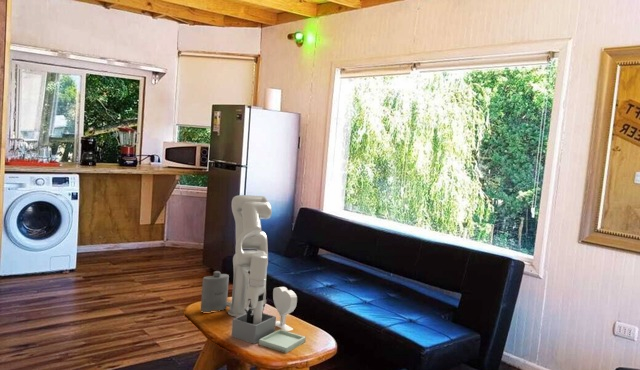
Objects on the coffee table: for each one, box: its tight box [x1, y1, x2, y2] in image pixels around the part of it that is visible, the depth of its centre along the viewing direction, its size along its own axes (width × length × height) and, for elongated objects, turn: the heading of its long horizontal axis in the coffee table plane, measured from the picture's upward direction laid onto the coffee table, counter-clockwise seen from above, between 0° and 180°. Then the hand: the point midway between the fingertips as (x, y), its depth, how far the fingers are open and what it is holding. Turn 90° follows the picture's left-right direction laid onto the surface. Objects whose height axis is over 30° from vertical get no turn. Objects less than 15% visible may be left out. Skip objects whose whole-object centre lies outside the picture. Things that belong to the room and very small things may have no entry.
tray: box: [258, 328, 307, 354], centre depth 220 cm, size 14×16×2 cm
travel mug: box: [250, 293, 264, 325], centre depth 226 cm, size 6×7×20 cm
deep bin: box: [231, 312, 277, 345], centre depth 226 cm, size 13×16×8 cm
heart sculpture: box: [272, 286, 298, 332], centre depth 241 cm, size 16×5×18 cm, turn 38°
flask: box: [200, 270, 230, 312], centre depth 254 cm, size 15×6×20 cm, turn 139°
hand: (254, 320), depth 226 cm, fingers closed on travel mug, 6 cm apart
